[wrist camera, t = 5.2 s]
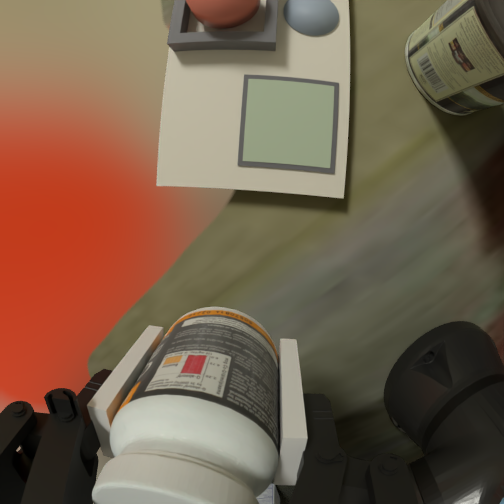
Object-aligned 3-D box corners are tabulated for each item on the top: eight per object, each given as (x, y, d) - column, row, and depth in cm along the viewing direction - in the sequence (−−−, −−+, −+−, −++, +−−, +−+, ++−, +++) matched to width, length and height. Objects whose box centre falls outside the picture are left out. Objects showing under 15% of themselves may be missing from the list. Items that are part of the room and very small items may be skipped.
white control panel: (339, 197, 27) (348, 200, 24) (162, 185, 28) (148, 186, 25) (344, -12, 22) (351, -29, 19) (186, -18, 23) (177, -35, 20)
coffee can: (495, 71, 23) (578, 42, 9) (464, 136, 25) (563, 123, 11) (425, 9, 22) (490, -55, 8) (386, 68, 24) (459, 4, 11)
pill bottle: (155, 306, 15) (36, 447, 5) (273, 297, 14) (266, 482, 5) (180, 398, 16) (119, 546, 7) (283, 395, 16) (282, 565, 6)
